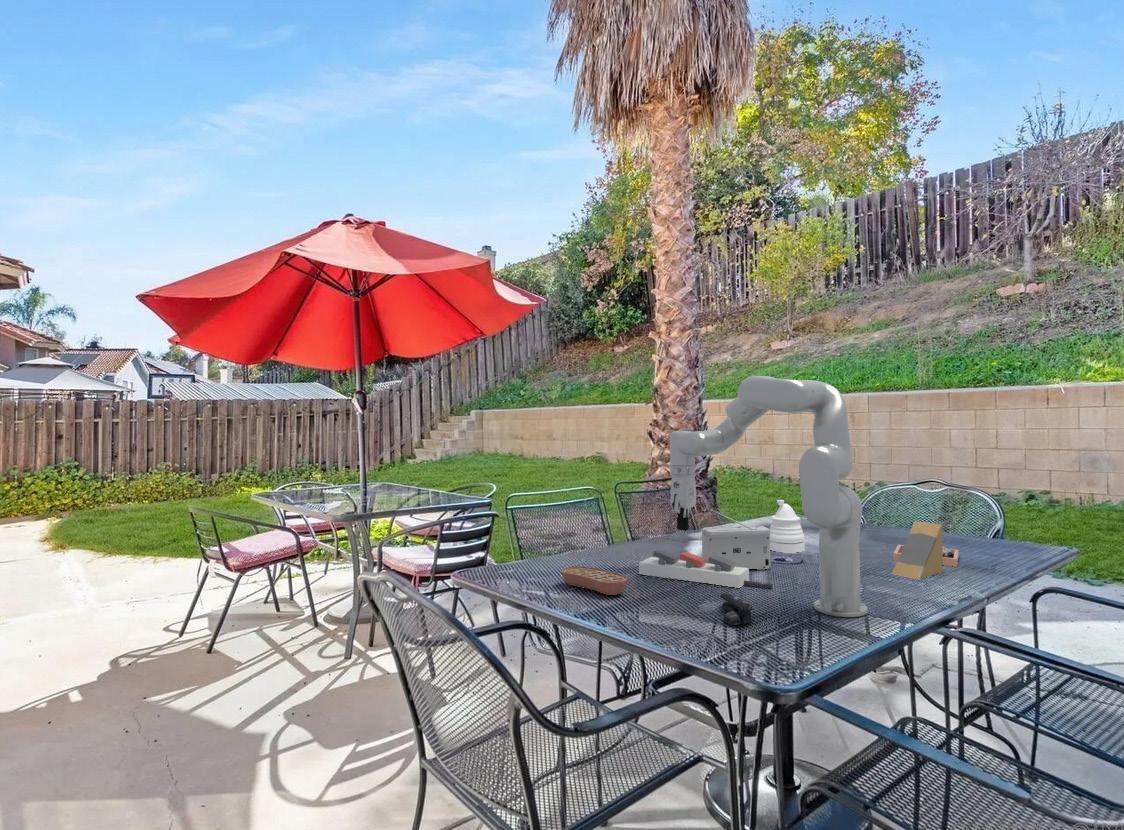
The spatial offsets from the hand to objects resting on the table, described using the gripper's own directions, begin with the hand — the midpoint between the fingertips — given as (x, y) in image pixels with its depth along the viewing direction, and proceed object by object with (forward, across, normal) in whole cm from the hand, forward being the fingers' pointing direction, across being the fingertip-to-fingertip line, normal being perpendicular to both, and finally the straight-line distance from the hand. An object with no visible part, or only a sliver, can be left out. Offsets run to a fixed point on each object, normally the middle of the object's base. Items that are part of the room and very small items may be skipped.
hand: (682, 529), depth 198 cm
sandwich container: (+14, +37, -61) cm, 73 cm away
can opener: (+15, -28, -25) cm, 41 cm away
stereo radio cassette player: (+15, +18, -11) cm, 26 cm away
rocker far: (+10, 0, +6) cm, 11 cm away
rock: (+14, +60, -63) cm, 88 cm away
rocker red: (+10, 0, -3) cm, 10 cm away
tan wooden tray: (+14, +59, -62) cm, 87 cm away
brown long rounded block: (+15, -25, +17) cm, 34 cm away
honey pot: (+15, +53, -18) cm, 58 cm away
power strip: (+15, 0, -7) cm, 16 cm away
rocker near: (+9, 0, -12) cm, 15 cm away
